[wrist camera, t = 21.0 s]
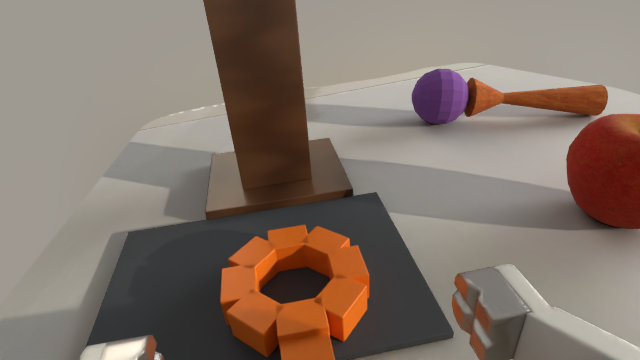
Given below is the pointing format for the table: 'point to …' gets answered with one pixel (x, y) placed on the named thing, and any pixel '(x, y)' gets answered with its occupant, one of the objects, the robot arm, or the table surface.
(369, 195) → the mat
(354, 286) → the orange ring
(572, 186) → the apple
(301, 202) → the stand
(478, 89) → the kendama
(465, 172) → the table surface
